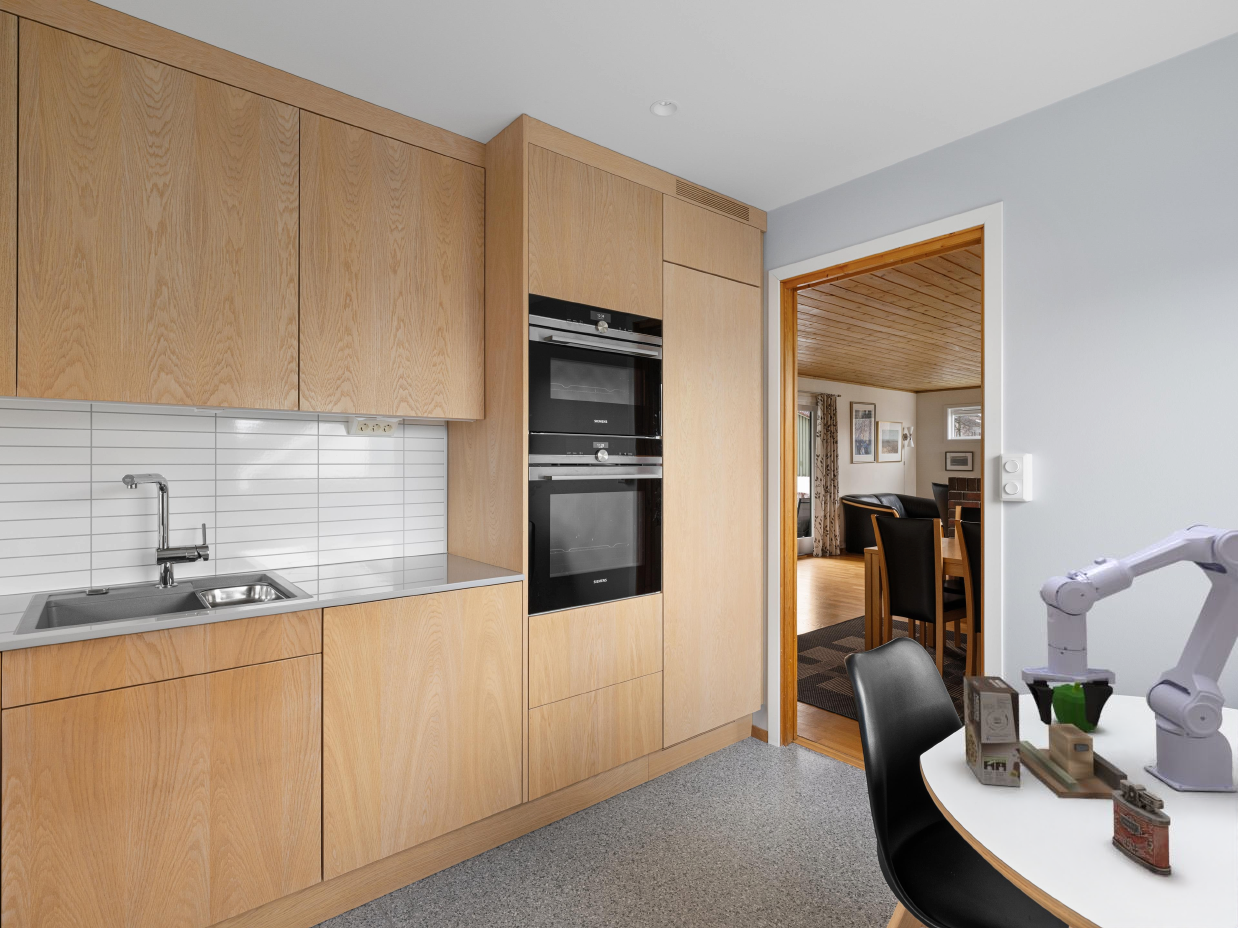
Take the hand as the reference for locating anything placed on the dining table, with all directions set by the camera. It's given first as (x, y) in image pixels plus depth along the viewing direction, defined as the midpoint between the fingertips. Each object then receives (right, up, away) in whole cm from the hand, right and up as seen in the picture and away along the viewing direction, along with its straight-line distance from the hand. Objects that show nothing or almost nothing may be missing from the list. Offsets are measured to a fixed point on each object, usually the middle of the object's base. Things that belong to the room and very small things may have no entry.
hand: (1068, 722), depth 115 cm
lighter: (-6, -10, -23) cm, 26 cm away
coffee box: (-13, -10, +1) cm, 16 cm away
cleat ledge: (0, -9, 0) cm, 9 cm away
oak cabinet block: (0, -8, 0) cm, 8 cm away
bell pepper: (+15, -9, +20) cm, 26 cm away
